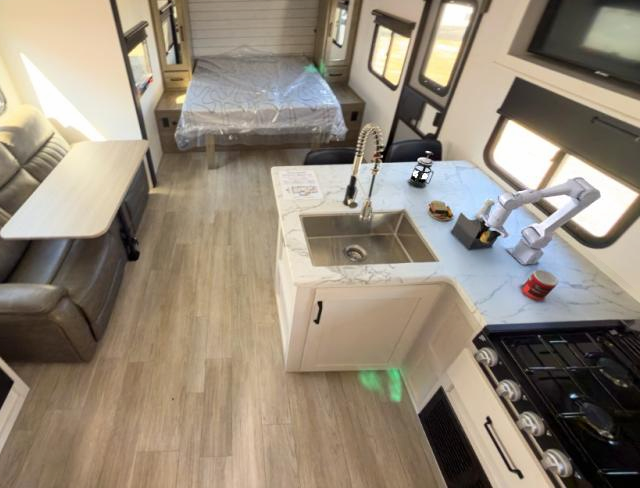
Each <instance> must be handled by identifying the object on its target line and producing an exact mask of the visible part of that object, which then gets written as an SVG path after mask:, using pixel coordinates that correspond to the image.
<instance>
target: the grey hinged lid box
mask: <svg viewBox="0 0 640 488" xmlns="http://www.w3.org/2000/svg"><path fill="white" fill-rule="evenodd" d="M469 220H470V221H471V222H472V223H473V224H474V225H475V226H476V227H477V228H478V229H479V230H481V225H480V222H481V221H480V220H479V219H476V218H475V219H469ZM490 231H492V230H491V229H490V228H489V229H488V231H487V232H490ZM451 233H452V234H453V235H454V236H455V237H456V238H457V239H458V240H459V241H460V242H461V243H462V245H464V247H466V249H467V250H475V249H484V248H492V247H493V245H494V244H495V242H496V241H497V239H498V237H497V238H495V239H494V240H493V241H492V242H489V243H484V242H482V241H481V240H480V237H481V235H480V231H479V233H478V234H477V236H476V238H475V239H474V238H473V237H472V236H471V235H470V234H468V233H467V232H466V231H465V230H464V229H463V228H462V227H461V226H460V225H459V224H458V223H457V222H455V223H454V225H453V227H452V229H451Z"/></svg>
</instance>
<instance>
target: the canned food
mask: <svg viewBox="0 0 640 488" xmlns="http://www.w3.org/2000/svg"><path fill="white" fill-rule="evenodd" d="M558 283H559V280H558V279H557V277H556V276H555V275H554V274H552V273H551V272H549V271H546V270H545V269H536V270H535V271H533V273H532V274H531V275H530V276H529V278H528V279H527V280H526V281H525V282H524V283H523V285H522V286H521V291H522V293H523V294H524V295H525V296H526V297H527V298H528V299H531V300H532V301H536V302H537V301H543V300H544V299H546V297H547V296H548V295H549V294H550V293H551V292H552V291H553V290H554V289H555V288H556V286H557V285H558Z"/></svg>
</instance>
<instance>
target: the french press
mask: <svg viewBox="0 0 640 488" xmlns="http://www.w3.org/2000/svg"><path fill="white" fill-rule="evenodd" d="M424 154H426V155H427V156H426V157H418V158H417V164H415V165H414V167H413V171H412V174H411V176H410V179H409V180H408V184H409V185H411V186H412V187H414V188H418V189H421V188H425V186H426V184H427V185H429V184H430V183H431V181H432V178H433V176H434V173H435V171H434V170H432V167H433V165H434V164H435V162H434V160H432V159H431V158H429V156H432V155H434V153H433V152H432V151H428V150H426V151H425V153H424ZM417 167H422V169H421V170H420V169H418V168H417ZM427 169H428V170H429V171H426V170H427ZM430 174H431V175H430ZM429 176H430V177H429ZM428 179H429V181H428Z"/></svg>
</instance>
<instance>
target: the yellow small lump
mask: <svg viewBox="0 0 640 488" xmlns="http://www.w3.org/2000/svg"><path fill="white" fill-rule="evenodd" d="M489 235H490V232H487V231H485V232H483V234H482V235H481V237H480V240H481V241H482V242H484V243H489V242H487V239H488V237H489Z"/></svg>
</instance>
